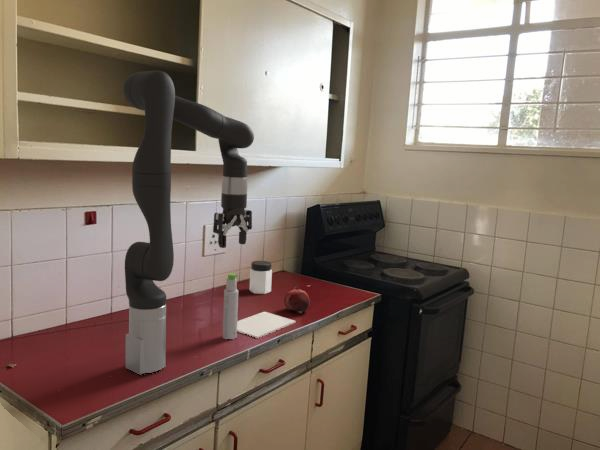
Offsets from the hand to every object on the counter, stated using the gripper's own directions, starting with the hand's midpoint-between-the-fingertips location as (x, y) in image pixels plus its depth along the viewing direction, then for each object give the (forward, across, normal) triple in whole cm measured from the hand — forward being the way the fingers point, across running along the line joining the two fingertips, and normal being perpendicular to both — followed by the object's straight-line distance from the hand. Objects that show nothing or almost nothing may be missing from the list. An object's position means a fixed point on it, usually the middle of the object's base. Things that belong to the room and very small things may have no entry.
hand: (232, 245), depth 151 cm
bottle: (+29, 0, 0) cm, 29 cm away
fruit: (+29, +35, 0) cm, 46 cm away
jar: (+29, +45, +26) cm, 60 cm away
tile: (+29, +15, 0) cm, 33 cm away
